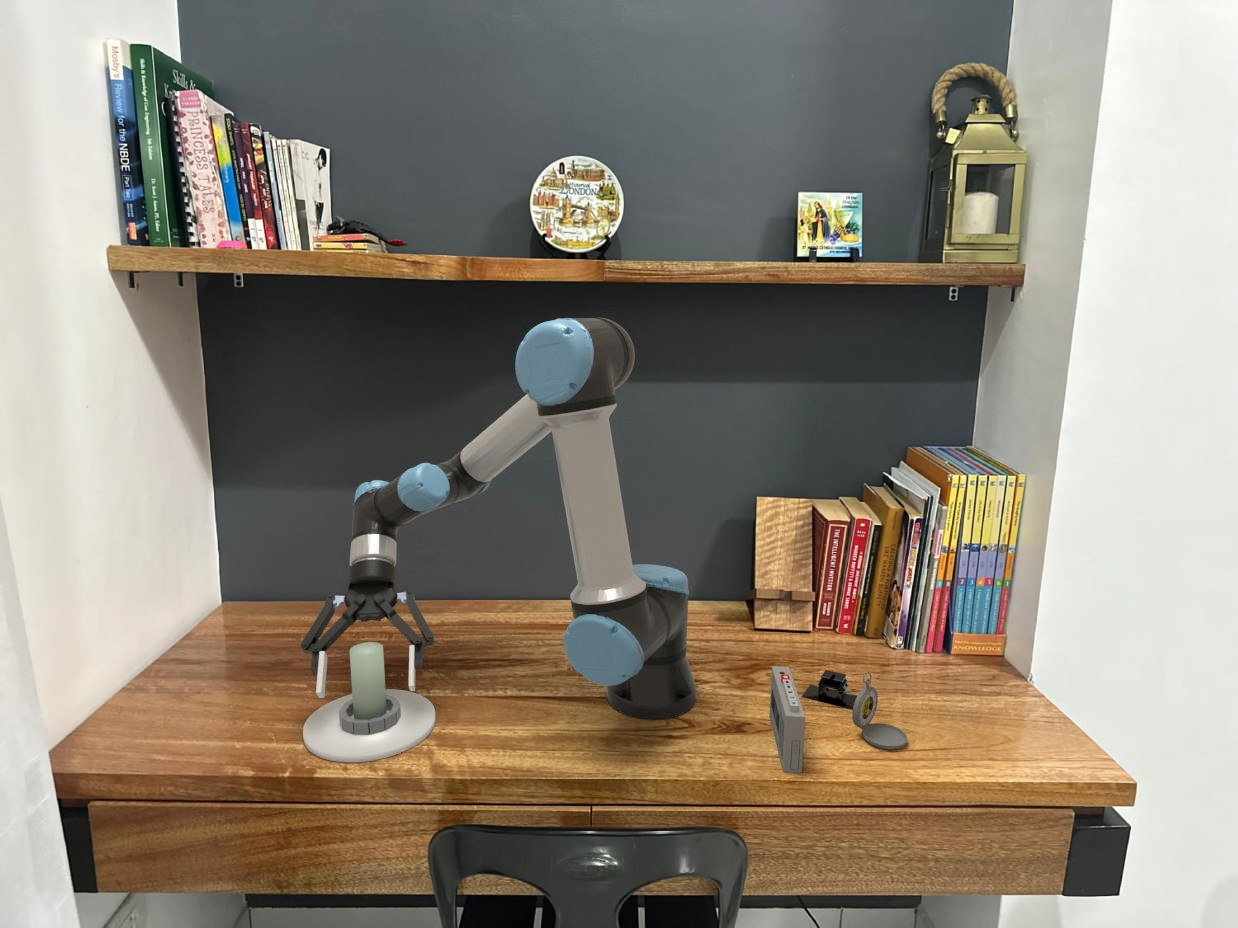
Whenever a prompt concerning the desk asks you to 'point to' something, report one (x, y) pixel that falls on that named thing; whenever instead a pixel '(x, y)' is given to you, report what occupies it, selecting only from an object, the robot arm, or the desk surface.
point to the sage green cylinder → (368, 680)
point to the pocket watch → (875, 732)
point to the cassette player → (787, 720)
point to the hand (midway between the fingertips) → (366, 691)
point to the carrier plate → (372, 744)
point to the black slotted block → (831, 690)
